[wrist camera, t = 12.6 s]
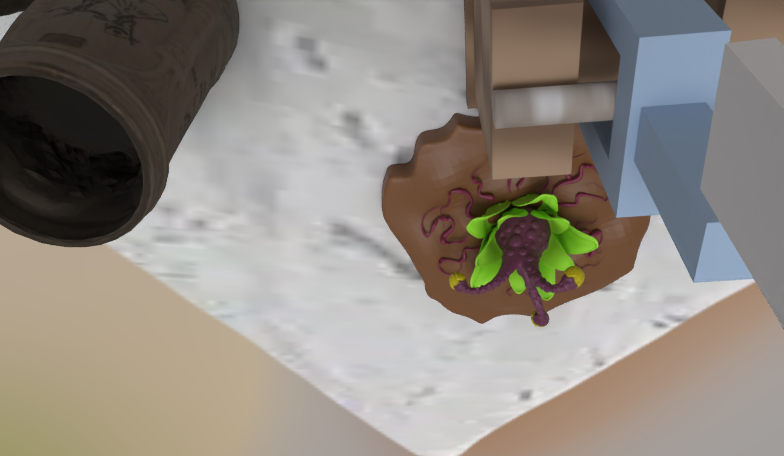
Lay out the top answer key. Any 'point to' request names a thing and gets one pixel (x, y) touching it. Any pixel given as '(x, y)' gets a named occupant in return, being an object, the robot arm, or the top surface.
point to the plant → (504, 227)
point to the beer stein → (100, 108)
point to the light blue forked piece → (665, 125)
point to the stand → (558, 74)
